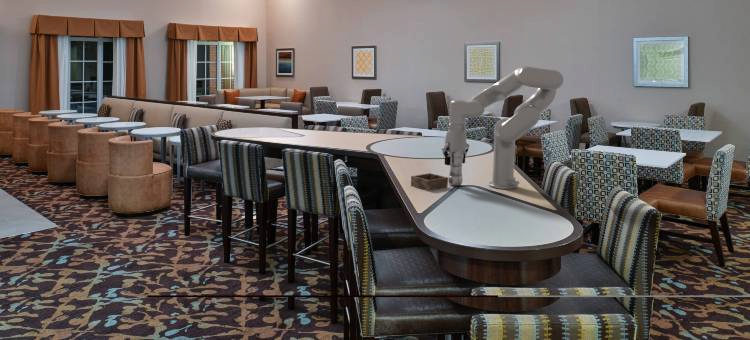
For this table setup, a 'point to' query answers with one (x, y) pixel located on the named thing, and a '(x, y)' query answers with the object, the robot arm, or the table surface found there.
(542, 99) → the robot arm
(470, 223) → the table surface
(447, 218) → the table surface
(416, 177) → the square wooden frame
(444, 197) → the table surface
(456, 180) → the silver rounded threaded piece
